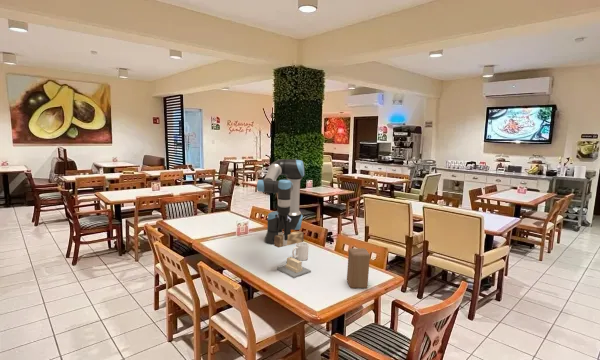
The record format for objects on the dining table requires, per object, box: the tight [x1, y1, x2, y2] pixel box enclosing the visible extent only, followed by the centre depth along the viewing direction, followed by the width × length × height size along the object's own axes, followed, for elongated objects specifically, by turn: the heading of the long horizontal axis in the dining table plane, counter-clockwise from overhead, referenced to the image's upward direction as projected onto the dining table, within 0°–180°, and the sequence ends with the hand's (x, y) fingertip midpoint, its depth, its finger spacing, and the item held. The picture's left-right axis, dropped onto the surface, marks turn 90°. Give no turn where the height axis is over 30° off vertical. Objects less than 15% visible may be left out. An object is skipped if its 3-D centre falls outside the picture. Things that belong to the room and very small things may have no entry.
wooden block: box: [346, 247, 371, 289], centre depth 189 cm, size 10×10×20 cm
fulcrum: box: [276, 256, 312, 279], centre depth 205 cm, size 14×16×7 cm
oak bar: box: [273, 230, 305, 248], centre depth 205 cm, size 20×4×6 cm, turn 132°
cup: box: [292, 241, 309, 262], centre depth 224 cm, size 8×12×10 cm
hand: (282, 243), depth 201 cm, fingers closed on oak bar, 4 cm apart
